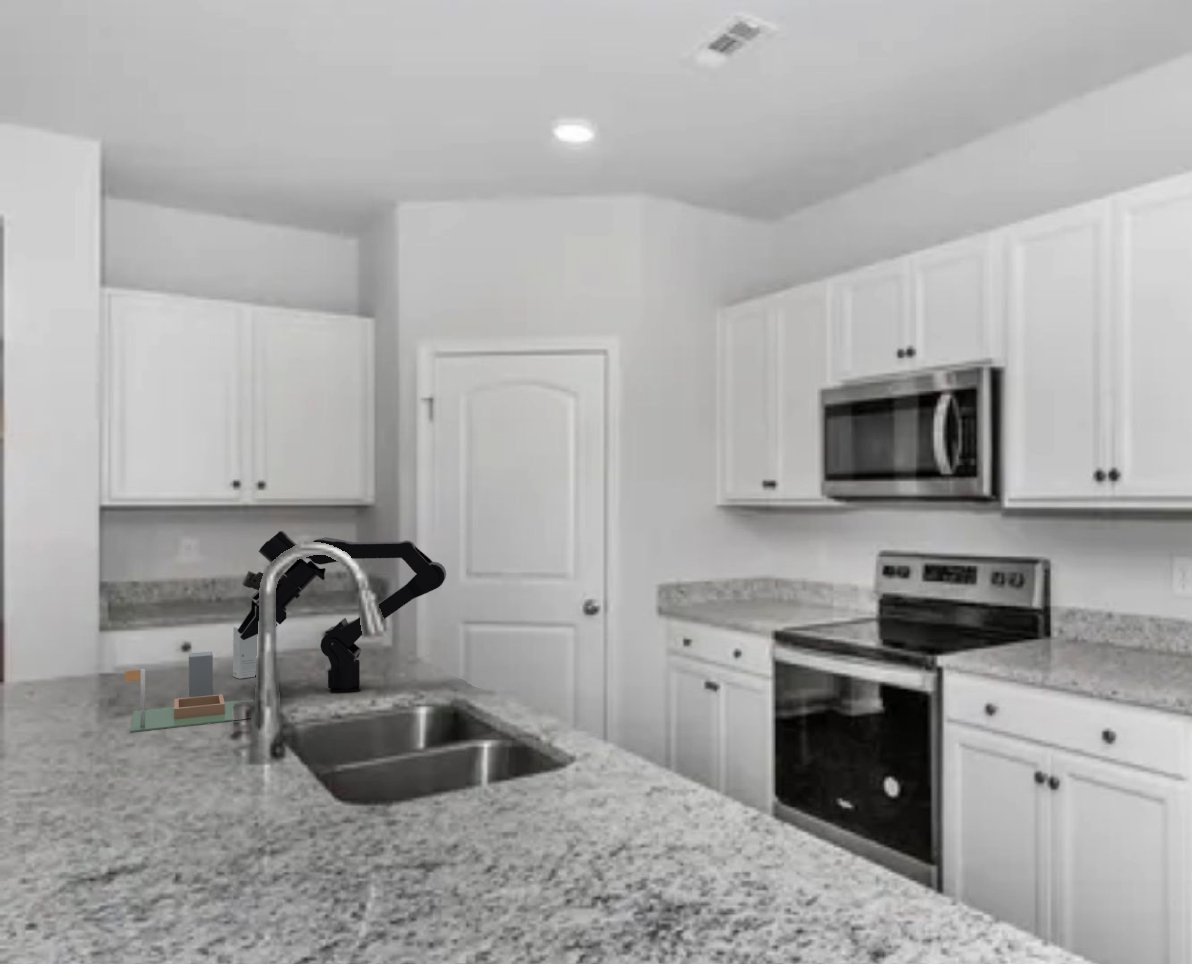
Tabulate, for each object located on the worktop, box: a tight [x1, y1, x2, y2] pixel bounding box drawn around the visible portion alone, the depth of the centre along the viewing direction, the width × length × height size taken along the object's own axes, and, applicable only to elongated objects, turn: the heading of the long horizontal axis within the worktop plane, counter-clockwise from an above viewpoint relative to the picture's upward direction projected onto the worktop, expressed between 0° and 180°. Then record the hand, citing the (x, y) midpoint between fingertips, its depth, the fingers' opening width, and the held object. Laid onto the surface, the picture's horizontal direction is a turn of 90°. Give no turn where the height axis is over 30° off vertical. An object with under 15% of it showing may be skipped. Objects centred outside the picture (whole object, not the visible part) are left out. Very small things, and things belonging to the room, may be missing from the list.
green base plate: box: [124, 668, 254, 733], centre depth 177 cm, size 25×16×11 cm, turn 116°
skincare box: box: [232, 625, 258, 680], centre depth 214 cm, size 6×4×12 cm
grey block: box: [188, 651, 214, 698], centre depth 189 cm, size 5×5×10 cm
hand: (240, 635), depth 193 cm, fingers open, 9 cm apart
